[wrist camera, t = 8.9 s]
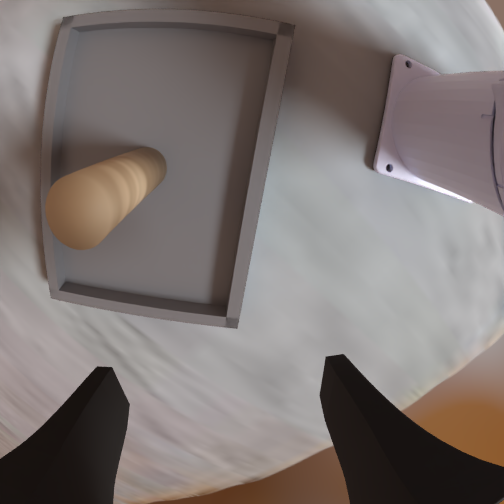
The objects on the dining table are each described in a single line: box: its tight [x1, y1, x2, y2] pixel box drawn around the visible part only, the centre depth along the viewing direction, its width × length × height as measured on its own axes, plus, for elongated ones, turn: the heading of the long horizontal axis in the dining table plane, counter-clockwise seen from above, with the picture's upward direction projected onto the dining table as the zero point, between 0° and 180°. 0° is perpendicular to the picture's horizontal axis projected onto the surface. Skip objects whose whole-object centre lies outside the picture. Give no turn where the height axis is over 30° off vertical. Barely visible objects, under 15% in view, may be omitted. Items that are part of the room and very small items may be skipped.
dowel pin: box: [45, 147, 167, 250], centre depth 12 cm, size 2×2×8 cm
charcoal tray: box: [40, 9, 295, 329], centre depth 15 cm, size 13×18×2 cm
